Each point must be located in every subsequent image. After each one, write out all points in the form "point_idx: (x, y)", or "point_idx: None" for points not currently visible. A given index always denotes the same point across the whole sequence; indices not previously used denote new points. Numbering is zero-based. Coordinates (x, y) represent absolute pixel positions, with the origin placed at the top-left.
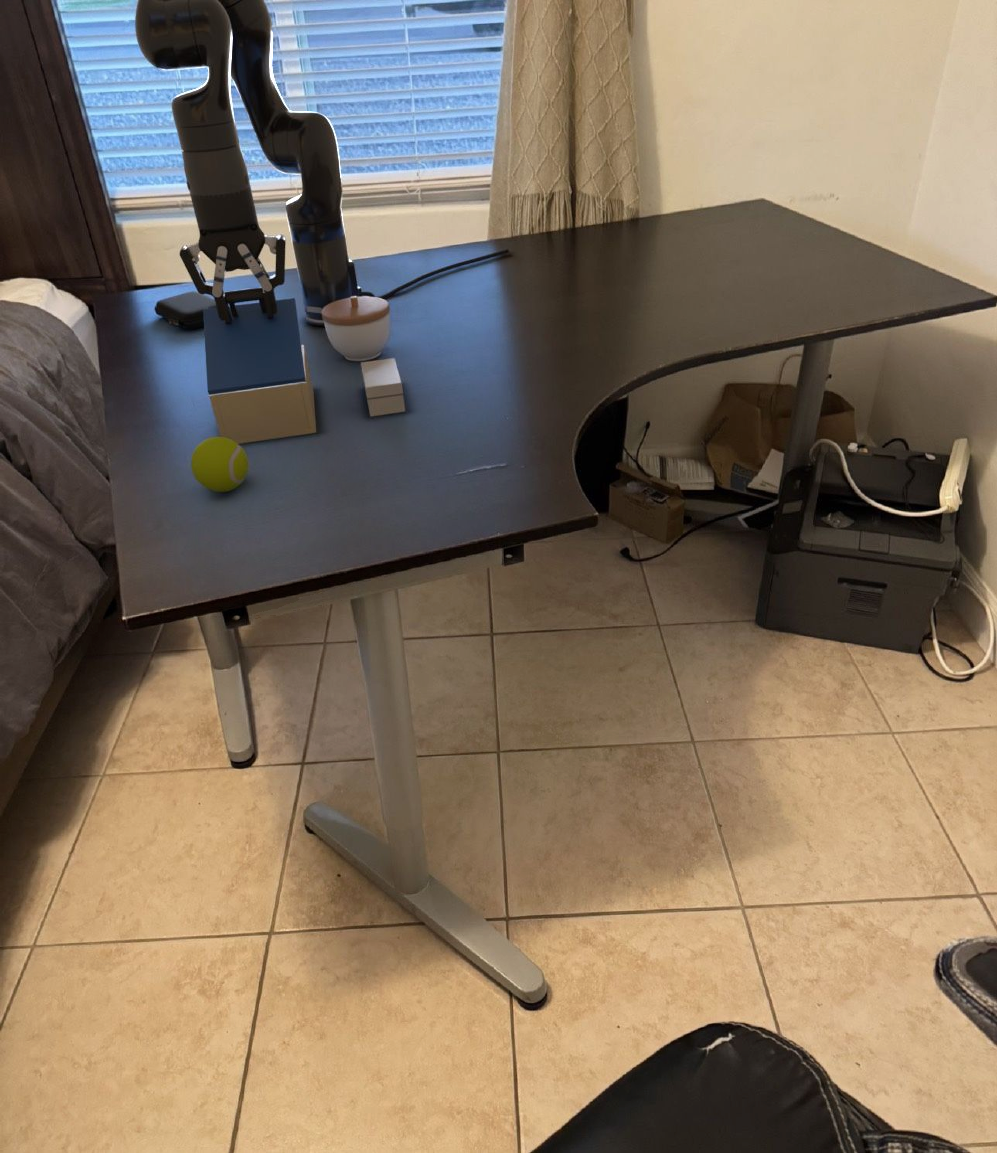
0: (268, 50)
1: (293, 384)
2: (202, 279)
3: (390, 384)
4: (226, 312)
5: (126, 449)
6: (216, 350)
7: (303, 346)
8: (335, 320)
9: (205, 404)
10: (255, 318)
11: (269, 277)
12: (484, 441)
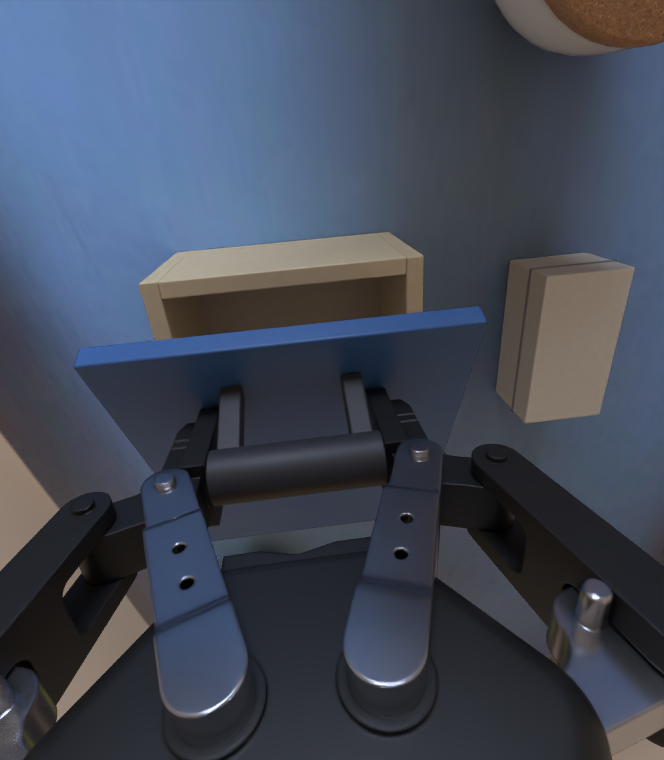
0: None
1: None
2: (106, 610)
3: (576, 416)
4: None
5: (22, 436)
6: None
7: (421, 274)
8: (565, 10)
9: (113, 245)
10: (314, 404)
11: (444, 493)
12: (637, 496)
